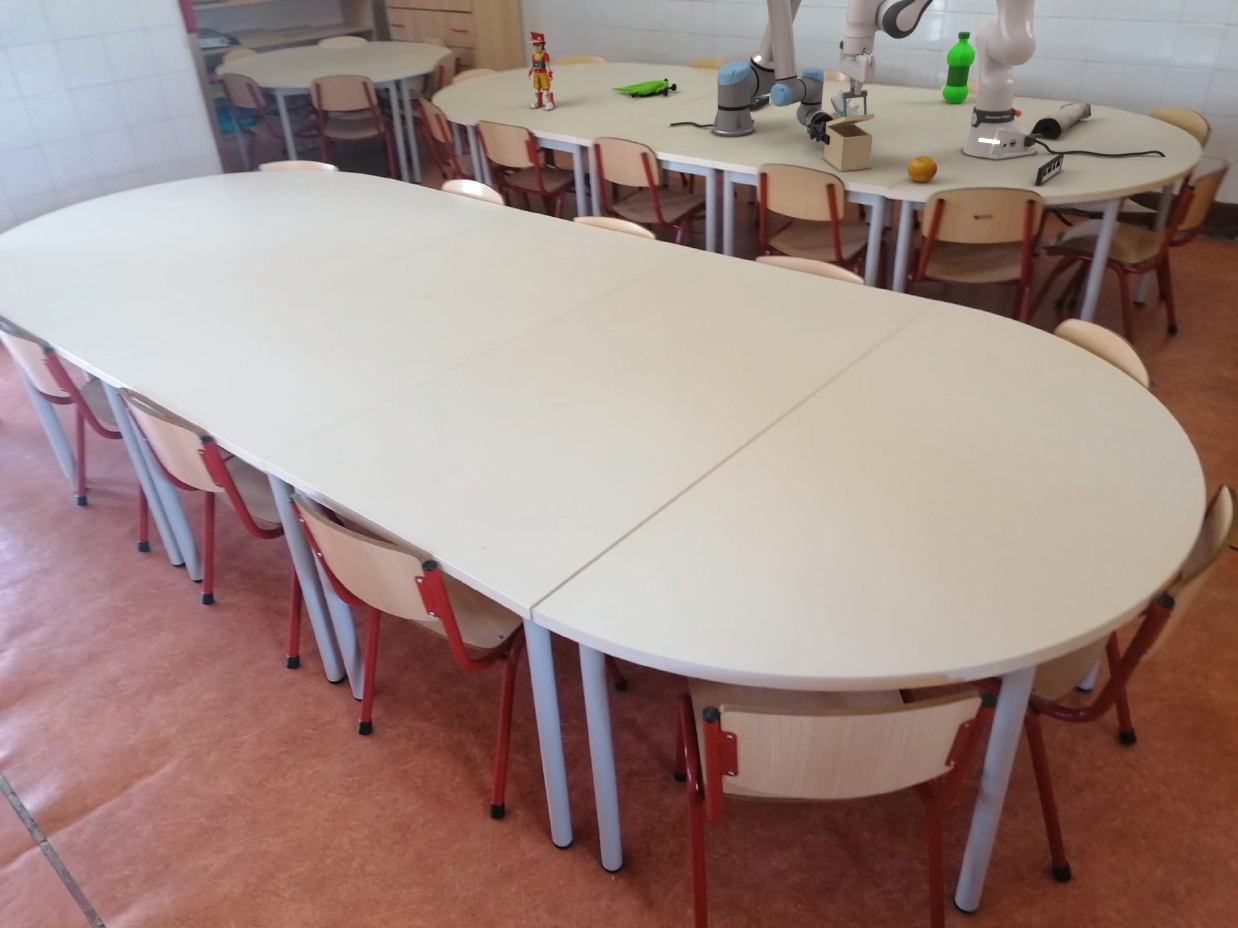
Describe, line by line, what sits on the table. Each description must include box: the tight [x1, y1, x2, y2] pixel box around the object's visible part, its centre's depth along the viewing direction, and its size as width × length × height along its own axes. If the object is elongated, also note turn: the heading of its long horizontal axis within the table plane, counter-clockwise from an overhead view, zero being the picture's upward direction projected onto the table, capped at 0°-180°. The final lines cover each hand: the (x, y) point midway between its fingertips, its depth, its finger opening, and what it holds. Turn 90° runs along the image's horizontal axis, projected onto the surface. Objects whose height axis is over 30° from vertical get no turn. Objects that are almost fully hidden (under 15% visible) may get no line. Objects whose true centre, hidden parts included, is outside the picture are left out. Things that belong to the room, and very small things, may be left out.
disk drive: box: [749, 95, 771, 111], centre depth 365 cm, size 10×3×15 cm
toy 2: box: [612, 78, 677, 99], centre depth 396 cm, size 28×5×30 cm
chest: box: [823, 123, 873, 172], centre depth 294 cm, size 15×10×10 cm, turn 10°
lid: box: [826, 89, 875, 127], centre depth 289 cm, size 16×10×9 cm, turn 10°
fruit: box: [907, 155, 938, 183], centre depth 277 cm, size 8×8×8 cm
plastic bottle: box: [942, 31, 976, 104], centre depth 348 cm, size 10×10×25 cm
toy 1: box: [527, 31, 556, 111], centre depth 374 cm, size 12×9×30 cm
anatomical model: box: [830, 89, 861, 118], centre depth 343 cm, size 15×10×10 cm
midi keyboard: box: [1035, 154, 1065, 186], centre depth 273 cm, size 18×1×5 cm, turn 138°
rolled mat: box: [1029, 101, 1092, 140], centre depth 316 cm, size 30×9×10 cm
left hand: (843, 139), depth 296 cm, fingers closed on chest, 10 cm apart
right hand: (854, 93), depth 283 cm, fingers closed on lid, 2 cm apart
